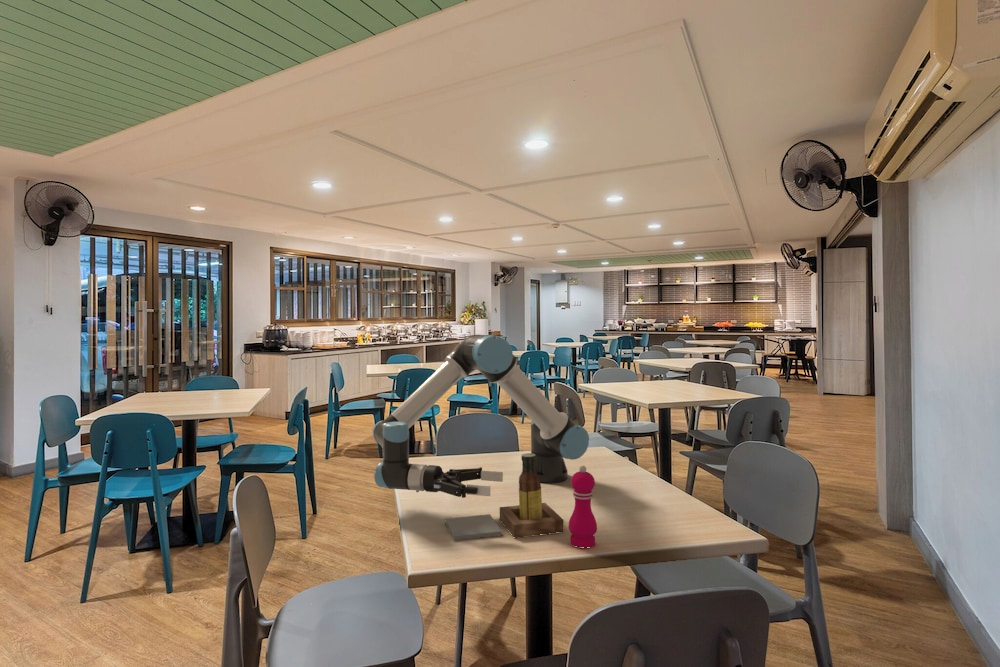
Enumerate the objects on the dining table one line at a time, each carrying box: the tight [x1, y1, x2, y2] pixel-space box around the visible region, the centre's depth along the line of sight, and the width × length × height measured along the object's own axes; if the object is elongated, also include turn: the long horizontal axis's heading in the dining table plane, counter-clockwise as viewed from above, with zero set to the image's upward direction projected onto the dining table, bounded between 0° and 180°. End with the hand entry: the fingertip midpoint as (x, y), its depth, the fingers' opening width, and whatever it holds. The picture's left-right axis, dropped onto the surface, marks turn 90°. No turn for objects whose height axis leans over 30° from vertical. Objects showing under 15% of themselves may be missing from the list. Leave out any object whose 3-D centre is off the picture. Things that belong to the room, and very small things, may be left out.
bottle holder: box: [499, 502, 565, 538], centre depth 146 cm, size 14×14×4 cm
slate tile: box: [444, 513, 503, 541], centre depth 144 cm, size 13×13×1 cm
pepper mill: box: [568, 465, 598, 548], centre depth 134 cm, size 7×7×20 cm
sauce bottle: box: [518, 452, 543, 521], centre depth 146 cm, size 6×6×20 cm
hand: (496, 483), depth 148 cm, fingers open, 13 cm apart
